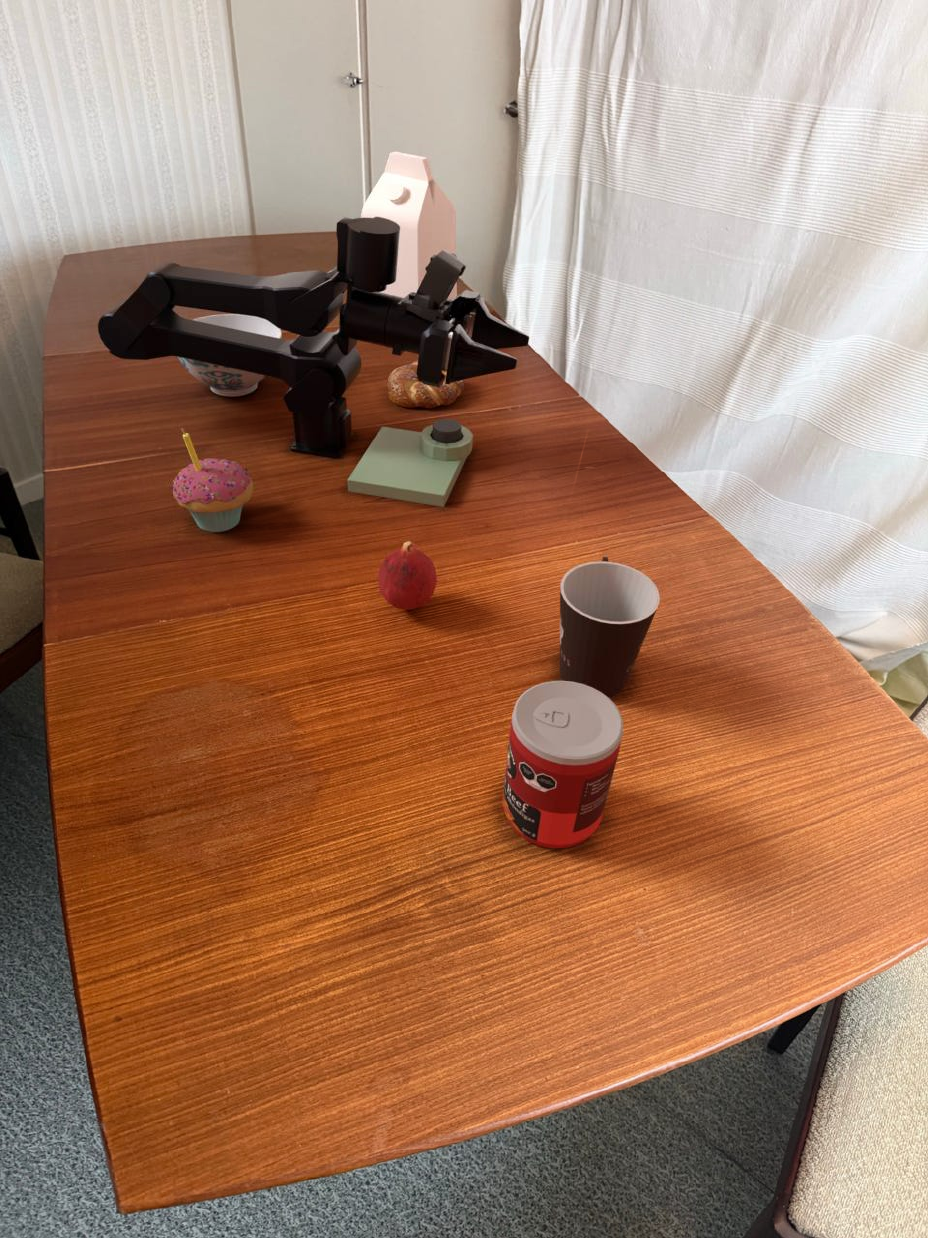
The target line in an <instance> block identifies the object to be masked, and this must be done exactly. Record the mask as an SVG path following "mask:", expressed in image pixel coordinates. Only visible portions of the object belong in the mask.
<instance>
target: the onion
mask: <svg viewBox="0 0 928 1238" xmlns="http://www.w3.org/2000/svg"><path fill="white" fill-rule="evenodd" d="M415 547H416V544H415V542H412V541H411V540H407V541H406V542H403V545H402V546H401V547H400V548H399V549H395V550H393V552H390V554H388V555H387V556H386V557H385V558H384V559H383V561H382V563H381V565H380V566H379V570H378V576H377V583H378V589H379V592H380V594H381V595H382V596H383V598H384V600H386V602H387V603H388V604H389V605H391V606H393V607H395V608H397V609H398V610H404V611H410V610H415V609H417V608H419V607H421V606H423V605H424V604H426V603H427V602H428V601H429V600H430V599H431V598H432V597H433V595H434V593H435V590H436V587H437V583H438V577H437V571H436V567H435V564H434V562H433V561H432V559H431V558H430V557H429V556H428V555H426V554H425V553H424V552H423V551H422V550H419V549H417V548H415Z"/></svg>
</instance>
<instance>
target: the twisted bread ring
mask: <svg viewBox="0 0 928 1238" xmlns="http://www.w3.org/2000/svg"><path fill="white" fill-rule="evenodd" d="M417 365H418V359H417V360H415V361H413V362H412V363H410V364H404V365H402V366H399V367H397V368H395V369H394V370H392V372H390V373H389V376H388V379H387V392H388V393H387V394H388V398H389V400H391V402H392V403H393V404H395V405H396V406H398V407H402V408H409V409H411V408H417V407H419V408H423V409H428V410H429V409H434V408H437V407H439V406H441V405H442V406H450V405H452V404H453V403H455V401H457V399H458V397H460V396H461V395H462V393H463V392H464V388H465V383H464V380H461V381H456V382H452V383H451V384H445V381H444V382H443V383H442V385H441V386H440V388H438V387H434V386H430V385H425V384H423V383H422V381H421V380H420V379H419V377H418V376H417V374H416V373H417ZM442 373H443V374H444V375H445V380H446V373H447V371H443V370H442Z"/></svg>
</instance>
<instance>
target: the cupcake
mask: <svg viewBox="0 0 928 1238" xmlns="http://www.w3.org/2000/svg"><path fill="white" fill-rule="evenodd" d="M180 430H181V432H182V439H183V441H184V443H185V446H186V449H187V451H188V454H189V456H190V459H191V461H192V462H191V463H188V464H187V466H185V467H184V468H182V469H180V471H179V472H177V473H178V474H176V476H175V478H174V479H173V480H172V484H173V485H172V488H171V491H172V493H173V498H174V499H175V501H176V502H177V503H178V505H179V506H180V507H181V508H183V509H187V511H188V512H189V513H190V515H191V516H192V518H193V519H194V522H195V523H196V525H197V526H198V527H199V528H200V529H201V530H203V531H205V532H210V533H221V532H222V533H223V532H226V531H229V530H232V529H233V528H235V527H236V526H237V525H238V524H239V523H240V520H241V515H242V510H243V506H244V504H246V503H248V502H249V501H250V500H251V498H252V495H253V493H254V489H255V488H254V482H253V480H252V477H251V476H250V474H249V473H248V469H247V468H244V467H243V466H241V464H238V463H237V462H236V461H234V460H228V459H226V458H224V459H223V458H210V457H207V458H205V459H201V460H200V459H199V457H198V455H197V452H196V450H195V447H194V444H193V442H192V439H191V437H190V434H189V432H188V433H187V432H185V429H184V428H183V427H181V428H180Z"/></svg>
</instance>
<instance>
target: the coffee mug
mask: <svg viewBox="0 0 928 1238" xmlns="http://www.w3.org/2000/svg"><path fill="white" fill-rule="evenodd" d="M559 584H560V585H559V676H560V678H561V681H570V682H576V683H580V684H584V685H587V686H589V687H592V688H594V689H596V690H598V691H600V692H602V693H603V694H604V695H606V696H607V697H608V698H610V697H613V696H615V695H617V694H619V693H620V692H621V691H623V690H624V688H625V687H626V685H627V682H628V680H629V678H630V675H631V673H632V670H633V668H634V665H635V663H636V661H637V658H638V656H639V654H640V651H641V648H642V646H643V645H644V644H643V643H644V642H645V639H646V636H647V634H648V631H649V629H650V628H651V624H652V622H653V621H654V617H655V615H656V613H657V610H658V607H659V605H660V602H661V595H660V591H659V589H658V587H657V585H656V583H655V582H653V580H652V579H651V578H650V577H649V576H647V575H646V574H645V573H643V572H642V571H640V570H638V569H636V568H634V567H631V566H629V565H626V564H622V563H619V562H613V561H609V557H608V556H602V559H601V561H600V560H599V561H589V562H585V563H581V564H579V565H575V566H574V567H572V568H570V569H569V570H568V571H567V572H565V573H564V575H563V576H562V578H561V580H560V583H559Z"/></svg>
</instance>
